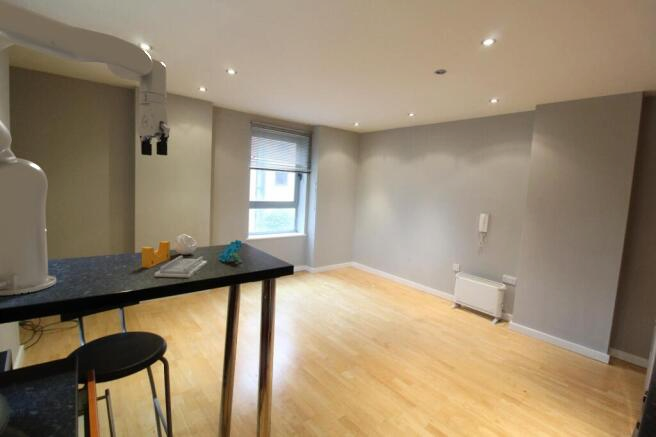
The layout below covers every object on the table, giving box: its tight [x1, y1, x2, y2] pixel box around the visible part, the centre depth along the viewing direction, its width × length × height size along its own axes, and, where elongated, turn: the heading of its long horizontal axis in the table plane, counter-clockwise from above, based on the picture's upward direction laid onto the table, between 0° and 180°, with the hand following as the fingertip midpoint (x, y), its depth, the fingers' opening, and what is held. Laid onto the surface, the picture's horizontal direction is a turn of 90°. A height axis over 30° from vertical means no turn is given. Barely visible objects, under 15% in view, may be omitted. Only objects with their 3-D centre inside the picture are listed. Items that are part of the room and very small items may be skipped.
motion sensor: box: [173, 233, 198, 256], centre depth 117 cm, size 8×8×8 cm
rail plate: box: [154, 255, 208, 279], centre depth 98 cm, size 16×10×3 cm, turn 4°
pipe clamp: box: [141, 240, 171, 269], centre depth 103 cm, size 12×4×6 cm, turn 179°
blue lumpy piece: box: [218, 239, 243, 263], centre depth 112 cm, size 11×6×10 cm
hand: (154, 155), depth 100 cm, fingers open, 9 cm apart
